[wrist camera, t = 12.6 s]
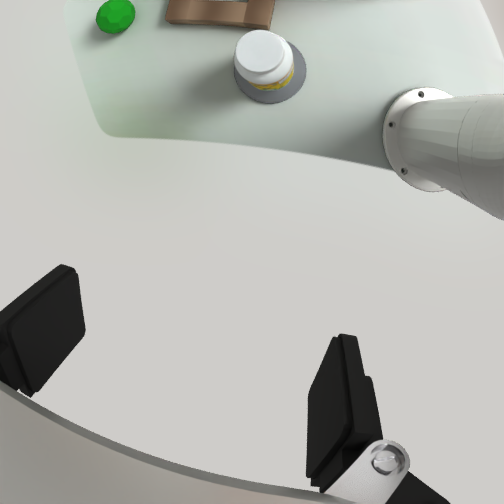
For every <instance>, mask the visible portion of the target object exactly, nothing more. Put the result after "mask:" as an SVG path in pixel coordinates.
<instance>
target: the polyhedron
mask: <svg viewBox="0 0 504 504" xmlns="http://www.w3.org/2000/svg"><path fill="white" fill-rule="evenodd" d="M134 18H135V9H134V6H133V5H132V3H131V2H130V1H128V0H109V1H107V2H105V3H104V4H103V5H102V6H101V7H100V8H99V10H98V12H97V16H96V22H97V24H98V26H99V28H100V29H101V30H102V31H104V32H106V33H112V34H114V33H119V32H121V31H123V30H125V29H127V28H128V27H129V26H130V24H131V23H132V22H133V20H134Z"/></svg>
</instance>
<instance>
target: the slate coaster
mask: <svg viewBox="0 0 504 504" xmlns="http://www.w3.org/2000/svg"><path fill="white" fill-rule="evenodd" d="M286 42H287V41H286ZM287 43H288V44H289V46H290V48H291V50H292V54H293V62H294V73H293V76H292V79H291V80H290V82H289V83H288V84H287V85H286V86H285V87H283V88H281V89H279V90H275V91H264V90H260V89H258V88H256V87H254V86H253V85H252V84H250V83H249V82H248V81H247V80H246V79H244V78H243V77H242V76H241V75H240V74H239V72H238V71H237V69H236V67H235V66H234V74H235V79H236V82H237V84H238V86H239V87H240V89H241V90H242V91H243V92H244V93H245V94H246V95H247V96H249V97H250V98H252V99H254V100H257V101H259V102H263V103H278V102H282V101H285V100H287V99H289V98H291V97H292V96H294V95H295V94H296V93H297V92H298V91H299V90H300V88H301V87H302V85H303V83H304V81H305V77H306V64H305V60H304V58H303V56H302V54H301V53H300V51H299V50H298V49H297V48H296V47H295V46H294V45H292V44H291V43H289V42H287Z"/></svg>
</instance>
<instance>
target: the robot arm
mask: <svg viewBox="0 0 504 504" xmlns="http://www.w3.org/2000/svg"><path fill="white" fill-rule="evenodd" d="M418 93H420V97H419V96H418ZM389 123H391V124H392V126H391V127H389ZM382 136H383V146H384V149H385V153H386V156H387V159H388V161H389V163H390V165H391V166H392V168H393V169H394V171H395V172H396V173H397V174H398V176H400V177H401V179H402V180H404V181H405V182H407V183H408V184H409V185H411V186H413V187H415V188H417V189H420V190H423V191H427V192H439V191H444V190H449V191H450V192H452V193H454V194H456V195H458V196H460V197H461V198H463V199H465V200H467V201H469V202H470V203H472V204H474V205H476V206H477V207H479V208H481V209H483V210H484V211H486V212H487V213H489V214H491V215H492V216H494V217H496V218H498V219H501V220H504V94H489V95H473V96H460V97H452V96H451V95H449V94H448V93H446V92H444V91H442V90H439V89H436V88H429V87H423V88H416V89H412V90H409V91H407V92H405V93H403V94H402V95H401V96H399V97H398V98H397V99H396V100H395V101H394V102H393V104H392V105H391V106H390V108H389V110H388V112H387V114H386V117H385V120H384V124H383V135H382ZM402 168H403V169H404V171H403V172H401V169H402ZM85 330H86V329H85V322H84V316H83V310H82V302H81V295H80V286H79V278H78V274H77V273H76V271H75V269H74V268H72V267H69V266H66V265H62V264H60V265H59V266H57V267H56V268H55V269H53V270H52V271H51V272H49V273H48V274H47V275H45V276H44V277H43V278H41V279H40V280H39V281H38V282H36V283H35V284H34V285H32V286H31V287H30V288H29V289H27V290H26V291H25V292H24V293H22V294H21V295H20V296H19V297H17V298H16V299H15V300H14V301H12V302H11V303H10V304H9V305H8V306H6V307H5V308H4V309H3V310H2V311H0V504H450V503H449V502H448V501H447V500H446V499H445V498H444V497H442V496H441V495H439V494H438V493H437V492H435V491H434V490H433V489H431V488H430V487H429V486H427V485H426V484H425V483H423V482H422V481H421V480H419V479H418V478H417V477H415V476H414V475H413V474H412V473H410V472H409V471H408V469H409V467H410V459H409V456H408V454H407V452H406V451H405V449H404V448H403V447H402V446H401V445H400V444H398V443H396V442H394V441H389V440H383V435H382V430H381V423H380V417H379V412H378V407H377V402H376V397H375V392H374V387H373V382H372V379H371V377H370V376H365V374H364V369H363V364H362V359H361V354H360V349H359V345H358V340H357V337H356V336H352V335H347V334H339V335H338V337H333V338H332V340H331V342H330V344H329V347H328V349H327V351H326V354H325V356H324V358H323V361H322V363H321V365H320V368H319V370H318V372H317V374H316V377H315V379H314V381H313V383H312V385H311V388H310V391H309V394H308V426H307V427H308V428H307V460H306V477H307V478H311V486H314V487H320V489H319V490H320V493H318V492H313V491H308V490H301V489H294V488H288V487H282V486H275V485H269V484H263V483H257V482H251V481H246V480H241V479H237V478H232V477H227V476H223V475H218V474H214V473H210V472H206V471H202V470H198V469H194V468H191V467H187V466H184V465H180V464H177V463H173V462H170V461H167V460H164V459H161V458H158V457H155V456H152V455H149V454H146V453H143V452H141V451H137V450H135V449H132V448H130V447H127V446H125V445H122V444H119V443H117V442H114V441H112V440H110V439H107V438H105V437H102V436H100V435H98V434H96V433H94V432H91V431H89V430H87V429H85V428H83V427H81V426H79V425H77V424H74V423H72V422H70V421H69V420H67V419H64V418H62V417H61V416H59V415H57V414H55V413H53V412H51V411H49V410H48V409H46V408H44V407H42V406H40V405H39V404H37V403H35V402H33V401H32V400H30V399H28V398H27V397H25V396H23V395H22V394H20V393H19V392H17V390H18V389H20V391H21V392H22V393H24V394H25V395H27V396H29V397H30V398H31V397H32V396H33V394H34V393H35V392H38V391H39V390H40V389H41V388H42V387H43V386H44V384H45V383H46V382H47V380H48V379H49V378H50V377H51V376H52V374H53V373H54V372H55V371H56V369H57V368H58V367H59V365H60V364H61V363H62V362H63V361H64V360H65V358H66V357H67V356H68V355H69V354H70V352H71V351H72V350H73V349H74V347H75V346H76V345H77V344H78V343H79V342H80V340H81V339H82V338H83V337H84V335H85Z"/></svg>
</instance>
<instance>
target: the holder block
mask: <svg viewBox="0 0 504 504" xmlns="http://www.w3.org/2000/svg"><path fill="white" fill-rule="evenodd" d="M274 5H275V0H248V2H247V3H246V2H233V1H212V0H170V1H169V5H168V9H167V13H166V17H165V20H166V21H167V22H169V23H170V24H207V25H224V26H236V27H247V28H255V29H263V30H269V29H270V24H271V19H272V14H273V9H274Z"/></svg>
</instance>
